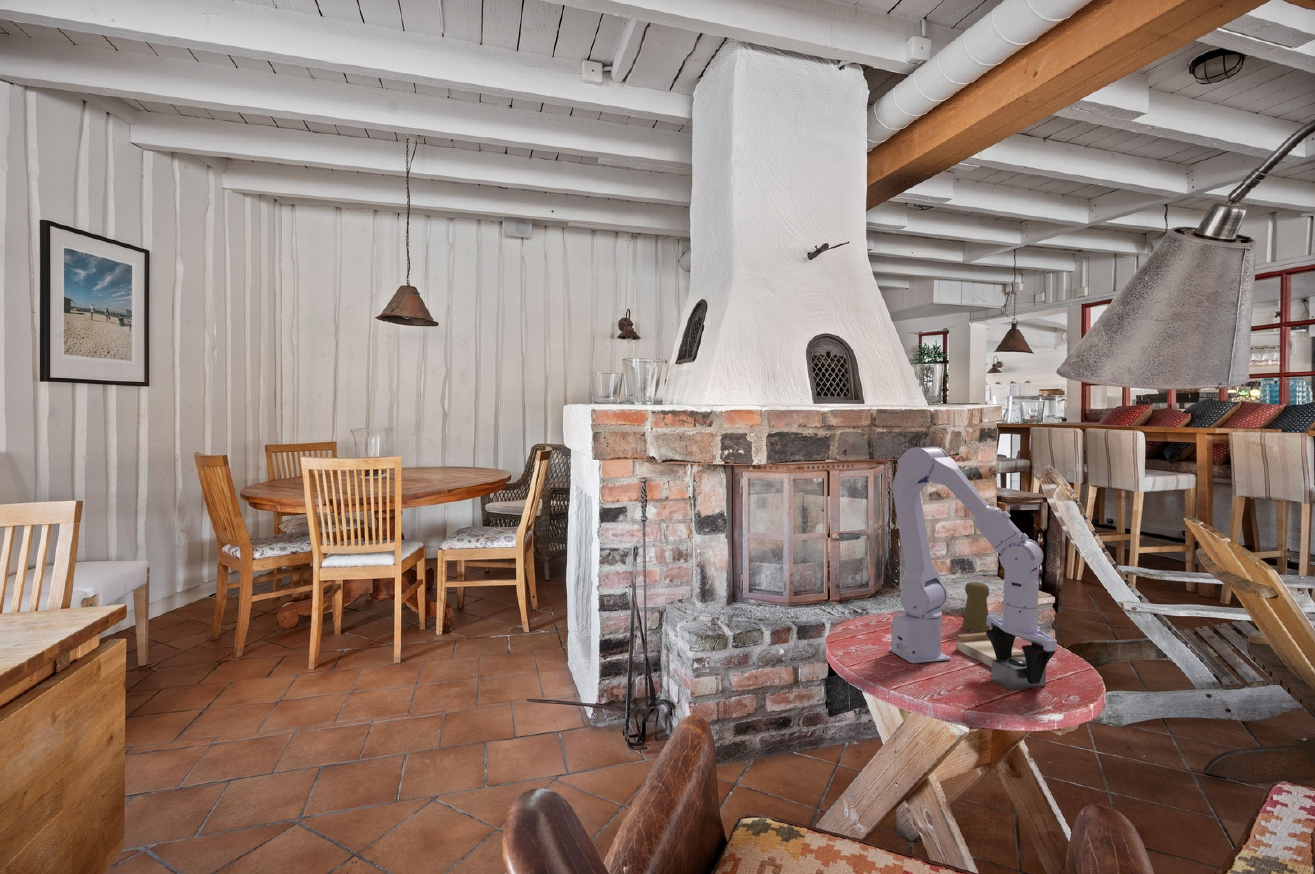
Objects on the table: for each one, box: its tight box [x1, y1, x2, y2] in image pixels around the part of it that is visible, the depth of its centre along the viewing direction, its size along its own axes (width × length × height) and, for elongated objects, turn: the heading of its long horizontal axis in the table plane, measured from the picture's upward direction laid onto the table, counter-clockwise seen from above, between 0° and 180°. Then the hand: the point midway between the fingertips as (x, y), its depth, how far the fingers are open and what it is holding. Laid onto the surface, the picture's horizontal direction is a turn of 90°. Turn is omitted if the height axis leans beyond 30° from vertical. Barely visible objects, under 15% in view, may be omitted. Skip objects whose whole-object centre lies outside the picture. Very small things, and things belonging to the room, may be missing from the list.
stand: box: [956, 632, 1025, 668], centre depth 130 cm, size 12×9×3 cm
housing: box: [990, 657, 1047, 691], centre depth 118 cm, size 8×5×4 cm, turn 105°
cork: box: [961, 581, 991, 633], centre depth 148 cm, size 6×6×11 cm
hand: (1018, 675), depth 118 cm, fingers open, 6 cm apart
